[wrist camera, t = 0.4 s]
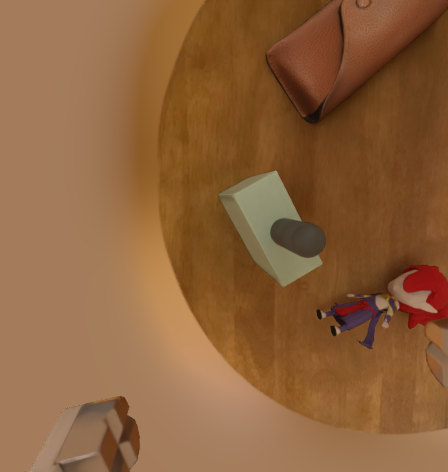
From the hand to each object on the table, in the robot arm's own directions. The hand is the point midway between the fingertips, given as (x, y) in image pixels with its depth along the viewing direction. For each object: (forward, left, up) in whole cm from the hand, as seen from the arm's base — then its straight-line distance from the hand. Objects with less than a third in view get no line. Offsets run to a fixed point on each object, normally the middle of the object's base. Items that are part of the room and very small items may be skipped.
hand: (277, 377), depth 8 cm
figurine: (+15, +13, -24) cm, 31 cm away
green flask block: (0, +5, -24) cm, 24 cm away
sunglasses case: (-11, +23, -24) cm, 35 cm away
